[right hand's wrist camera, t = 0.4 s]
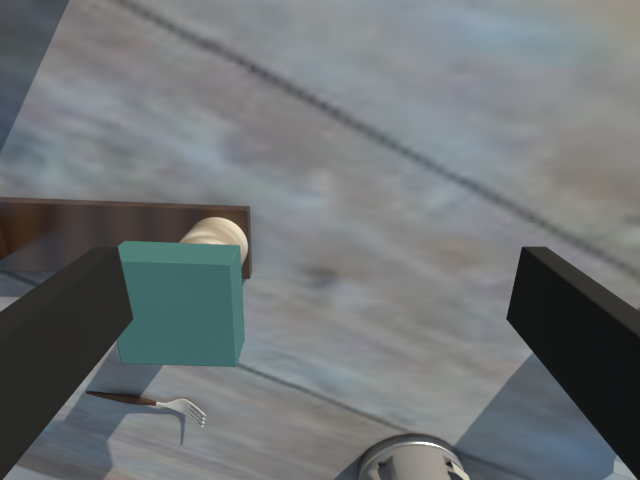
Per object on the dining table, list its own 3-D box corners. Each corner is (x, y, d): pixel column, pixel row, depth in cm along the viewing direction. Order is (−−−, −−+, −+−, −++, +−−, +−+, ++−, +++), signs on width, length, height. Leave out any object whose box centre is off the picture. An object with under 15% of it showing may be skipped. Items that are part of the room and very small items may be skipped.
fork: (88, 381, 49) (79, 393, 47) (209, 402, 50) (205, 414, 48) (88, 396, 50) (79, 408, 48) (207, 416, 51) (203, 428, 49)
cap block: (240, 244, 29) (230, 264, 26) (244, 339, 33) (236, 367, 29) (124, 240, 29) (99, 259, 26) (140, 336, 32) (121, 363, 29)
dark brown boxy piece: (249, 206, 40) (220, 256, 28) (252, 272, 43) (226, 343, 31) (-40, 195, 40) (-192, 242, 28) (-17, 263, 43) (-145, 331, 31)
